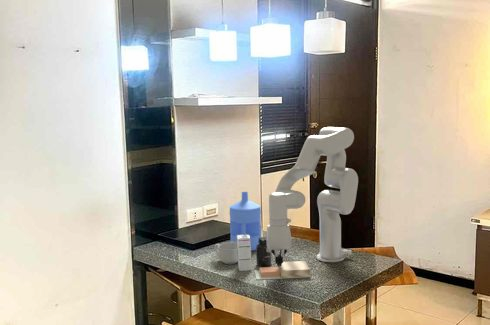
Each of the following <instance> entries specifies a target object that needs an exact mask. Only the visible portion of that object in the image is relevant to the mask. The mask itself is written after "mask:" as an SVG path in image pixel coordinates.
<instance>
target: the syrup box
mask: <svg viewBox="0 0 490 325" xmlns="http://www.w3.org/2000/svg"><path fill="white" fill-rule="evenodd" d="M237 251H238V262H237V266H238V268H237V269H238V271H240V272H243V271H245V272H246V271H247V272H248V271H252V270H253V269H252V268H253V265H252V251H251V243H250V236H249V235H237Z"/></svg>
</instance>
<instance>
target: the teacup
mask: <svg viewBox="0 0 490 325" xmlns="http://www.w3.org/2000/svg"><path fill="white" fill-rule="evenodd" d="M213 249H214V251H215V253H216V254H217V255H218V258H219V260H220V261H221V262H222V263H223V264H225V265H234V264H238V251H237V242H231V241H227V242H222V243H215V244H214V246H213Z"/></svg>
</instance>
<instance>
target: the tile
mask: <svg viewBox="0 0 490 325" xmlns="http://www.w3.org/2000/svg"><path fill="white" fill-rule="evenodd" d="M259 270H260V275H261V277H272V276H280V270H279V267H278V266H268V267H261V266H260V267H259Z"/></svg>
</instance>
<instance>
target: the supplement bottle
mask: <svg viewBox="0 0 490 325" xmlns="http://www.w3.org/2000/svg"><path fill="white" fill-rule="evenodd" d="M258 240H259V241H258V243H259V244H258V245H257V246H256V250H255V255H256V256H255V258H256V259H255V262H256V265H257V266H258V267H260V268H261V267H271V265H272V264H273V263H272V261H273V260H272V255H273V253H270V252H267V251H266V248H267V245H266V236H263V237H262V236H261V238H259V239H258Z"/></svg>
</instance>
